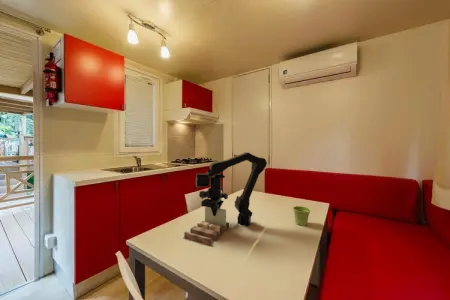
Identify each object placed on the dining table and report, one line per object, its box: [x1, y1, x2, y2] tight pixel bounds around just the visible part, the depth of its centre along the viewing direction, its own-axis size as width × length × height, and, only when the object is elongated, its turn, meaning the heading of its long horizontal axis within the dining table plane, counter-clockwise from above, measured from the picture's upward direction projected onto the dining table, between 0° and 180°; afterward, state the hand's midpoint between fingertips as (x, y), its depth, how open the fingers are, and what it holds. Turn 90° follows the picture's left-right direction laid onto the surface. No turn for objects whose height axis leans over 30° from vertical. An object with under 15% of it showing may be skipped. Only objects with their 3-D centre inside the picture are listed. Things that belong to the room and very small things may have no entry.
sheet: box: [204, 207, 227, 226], centre depth 99 cm, size 12×2×10 cm, turn 64°
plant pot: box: [292, 205, 312, 227], centre depth 107 cm, size 9×9×9 cm
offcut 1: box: [196, 220, 208, 229], centre depth 95 cm, size 5×2×4 cm, turn 64°
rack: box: [182, 220, 231, 247], centre depth 93 cm, size 15×21×3 cm
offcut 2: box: [209, 224, 220, 234], centre depth 92 cm, size 5×2×4 cm, turn 64°
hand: (215, 215), depth 99 cm, fingers closed on sheet, 2 cm apart
